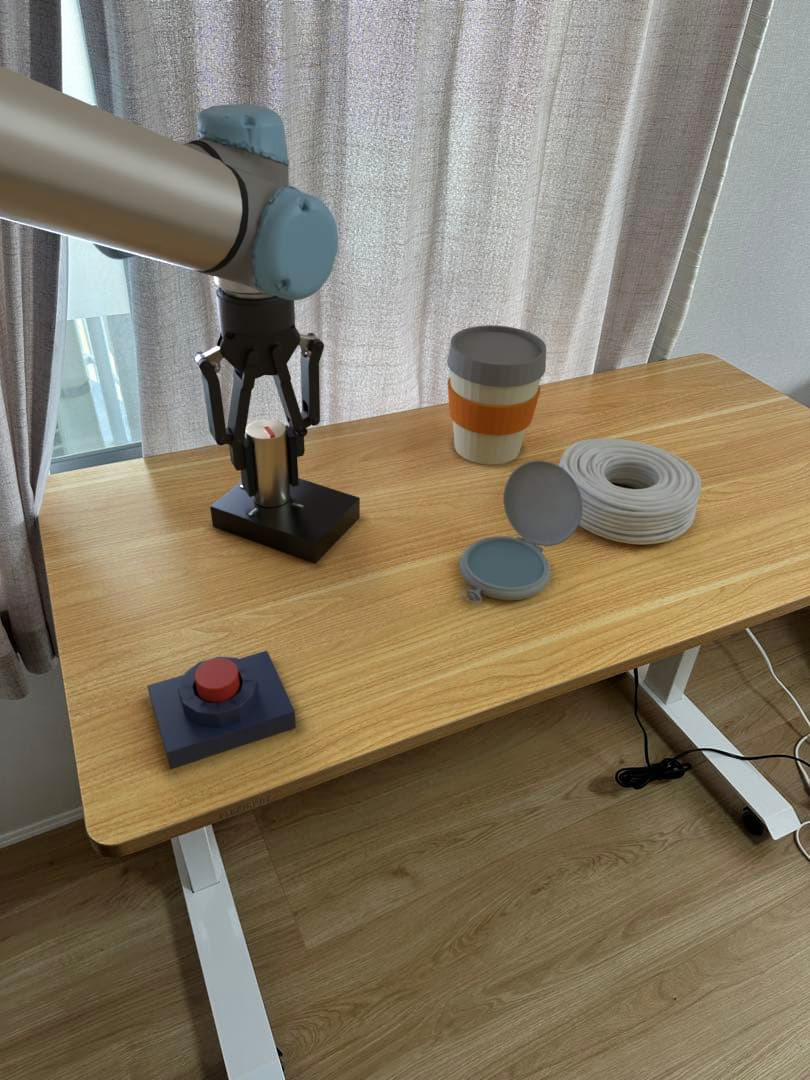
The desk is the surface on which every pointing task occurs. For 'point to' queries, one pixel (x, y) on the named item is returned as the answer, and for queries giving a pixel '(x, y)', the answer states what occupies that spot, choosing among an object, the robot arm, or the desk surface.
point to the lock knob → (269, 462)
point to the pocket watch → (524, 534)
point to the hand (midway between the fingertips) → (270, 484)
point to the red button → (217, 680)
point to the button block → (220, 711)
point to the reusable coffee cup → (493, 390)
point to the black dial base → (289, 519)
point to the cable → (632, 490)
